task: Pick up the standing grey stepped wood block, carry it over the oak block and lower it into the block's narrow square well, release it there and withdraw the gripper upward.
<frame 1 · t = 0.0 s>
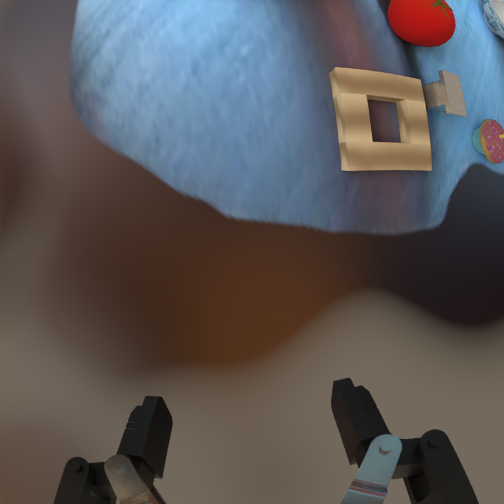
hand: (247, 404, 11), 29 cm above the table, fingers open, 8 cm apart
well block: (380, 121, 34), on the table
grey stepped wood block: (428, 99, 33), on the table
cupcake: (478, 140, 35), on the table
chinaware: (490, 24, 24), on the table
tomato: (402, 30, 29), on the table
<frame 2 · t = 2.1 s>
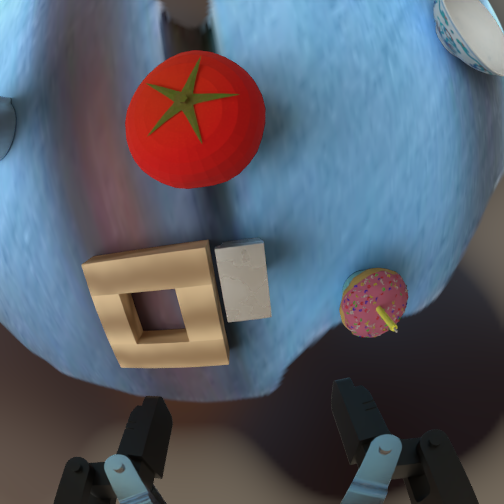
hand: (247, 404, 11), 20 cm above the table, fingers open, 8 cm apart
well block: (160, 306, 32), on the table
grey stepped wood block: (243, 256, 30), on the table
cupcake: (359, 286, 32), on the table
chinaware: (450, 39, 21), on the table
tomato: (207, 132, 26), on the table
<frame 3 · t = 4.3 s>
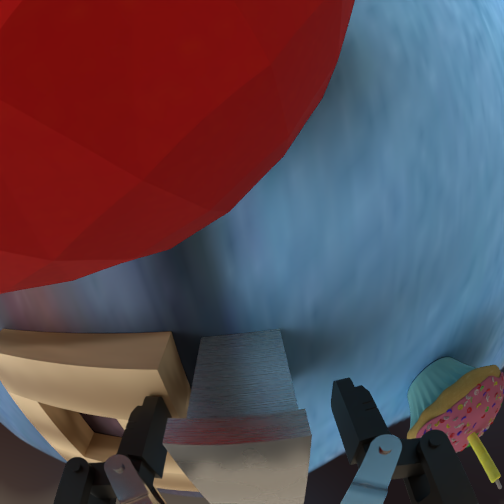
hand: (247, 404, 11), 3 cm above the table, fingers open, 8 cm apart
well block: (108, 413, 15), on the table
grey stepped wood block: (245, 362, 14), on the table
cupcake: (431, 377, 16), on the table
tomato: (161, 89, 10), on the table
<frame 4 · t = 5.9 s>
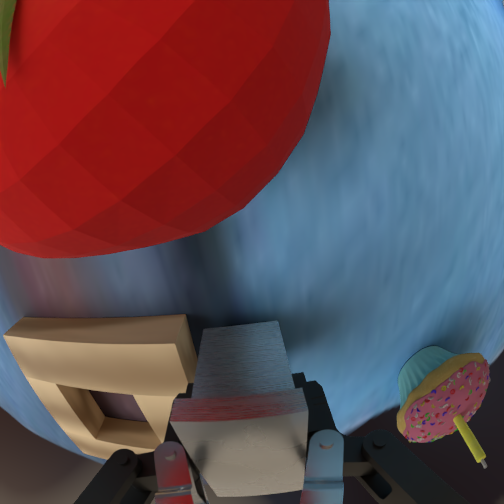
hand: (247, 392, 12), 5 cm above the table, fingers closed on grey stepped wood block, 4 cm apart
well block: (121, 395, 18), on the table
grey stepped wood block: (245, 353, 15), point 1 cm above the table, touching gripper
cupcake: (420, 365, 18), on the table
tomato: (180, 107, 12), on the table
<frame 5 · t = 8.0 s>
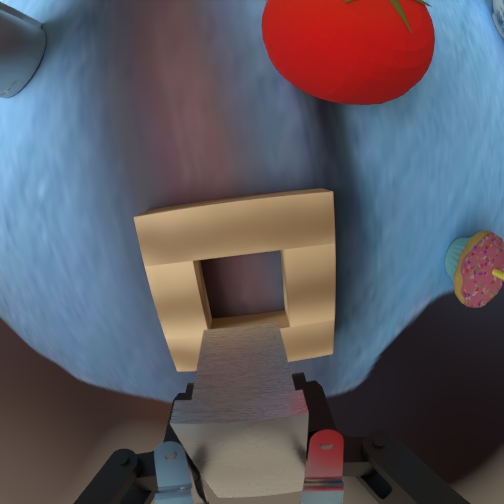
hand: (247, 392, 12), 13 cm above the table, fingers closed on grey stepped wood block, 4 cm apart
well block: (243, 281, 24), on the table
grey stepped wood block: (245, 354, 15), point 10 cm above the table, touching gripper
cupcake: (457, 255, 25), on the table
chinaware: (503, 30, 14), on the table
tomato: (321, 62, 19), on the table
when the fingers open (3 cm above the table, at t = 10.3 s): grey stepped wood block stays where it is, resting in well block.
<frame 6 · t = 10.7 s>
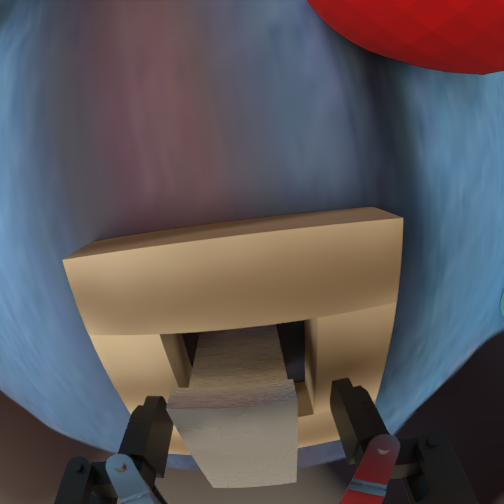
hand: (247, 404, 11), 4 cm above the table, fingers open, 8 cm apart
well block: (245, 348, 15), on the table
grey stepped wood block: (242, 348, 15), resting in well block
tomato: (364, 15, 10), on the table
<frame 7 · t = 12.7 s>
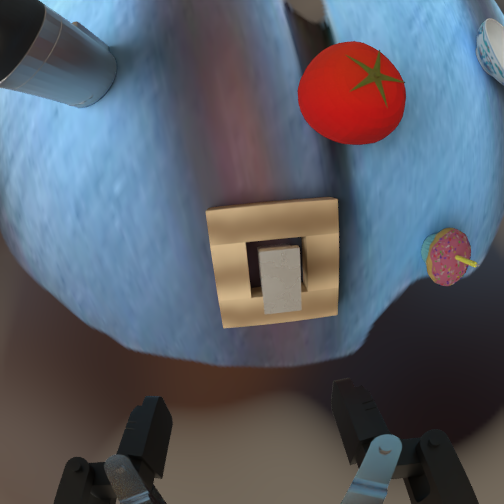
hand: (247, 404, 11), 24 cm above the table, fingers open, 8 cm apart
well block: (275, 260, 35), on the table
grey stepped wood block: (273, 259, 35), resting in well block
cupcake: (431, 248, 35), on the table
chinaware: (485, 61, 25), on the table
tomato: (332, 108, 29), on the table
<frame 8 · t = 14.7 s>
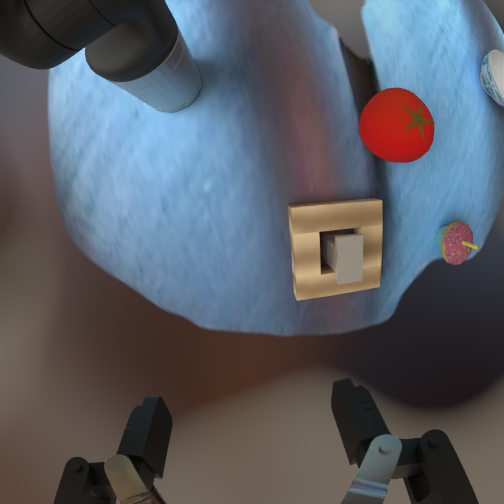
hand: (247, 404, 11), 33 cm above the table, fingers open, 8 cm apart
well block: (335, 245, 44), on the table
grey stepped wood block: (333, 245, 44), resting in well block
cupcake: (443, 236, 44), on the table
chinaware: (487, 83, 34), on the table
tomato: (375, 130, 38), on the table
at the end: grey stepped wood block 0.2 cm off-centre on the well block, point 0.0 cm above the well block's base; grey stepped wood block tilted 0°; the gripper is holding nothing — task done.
